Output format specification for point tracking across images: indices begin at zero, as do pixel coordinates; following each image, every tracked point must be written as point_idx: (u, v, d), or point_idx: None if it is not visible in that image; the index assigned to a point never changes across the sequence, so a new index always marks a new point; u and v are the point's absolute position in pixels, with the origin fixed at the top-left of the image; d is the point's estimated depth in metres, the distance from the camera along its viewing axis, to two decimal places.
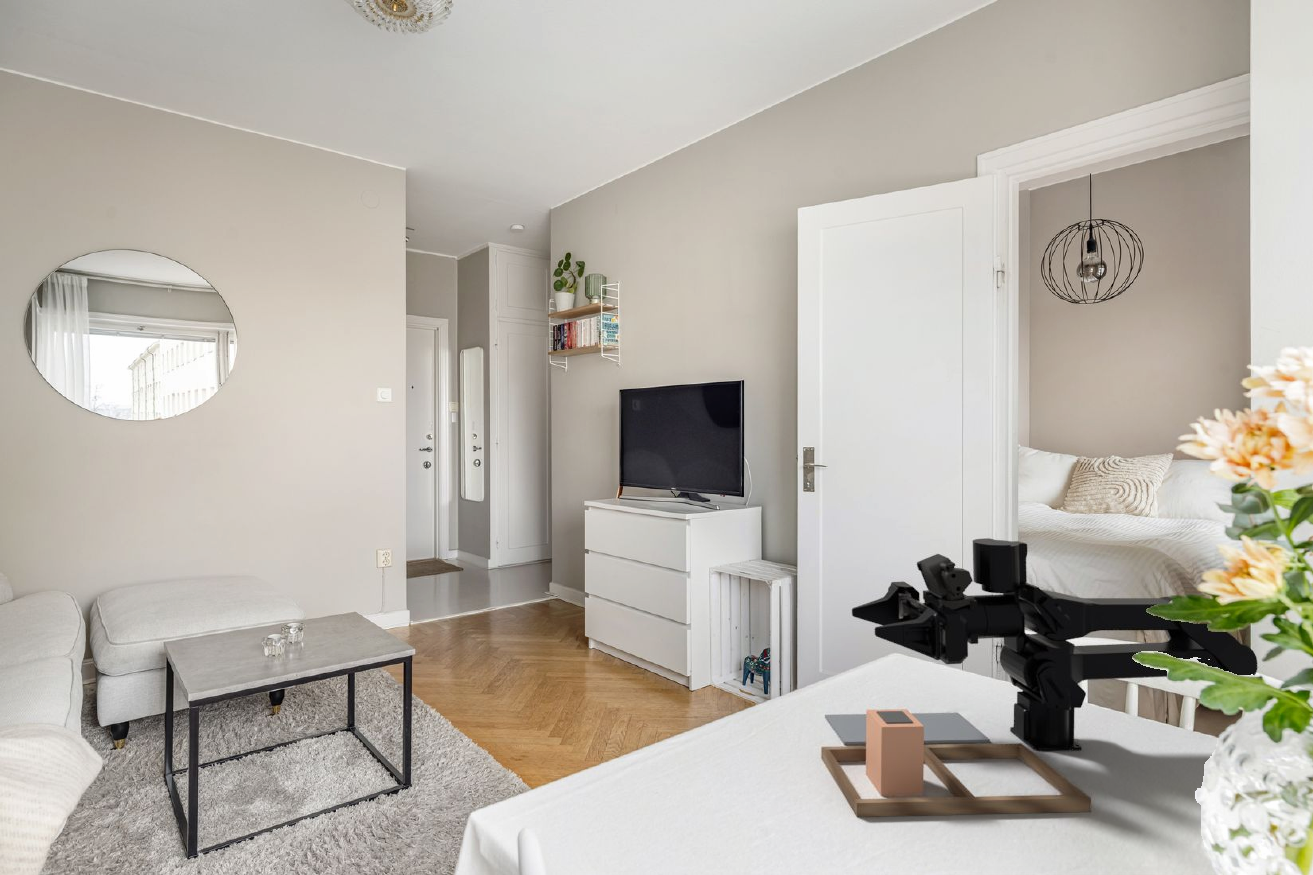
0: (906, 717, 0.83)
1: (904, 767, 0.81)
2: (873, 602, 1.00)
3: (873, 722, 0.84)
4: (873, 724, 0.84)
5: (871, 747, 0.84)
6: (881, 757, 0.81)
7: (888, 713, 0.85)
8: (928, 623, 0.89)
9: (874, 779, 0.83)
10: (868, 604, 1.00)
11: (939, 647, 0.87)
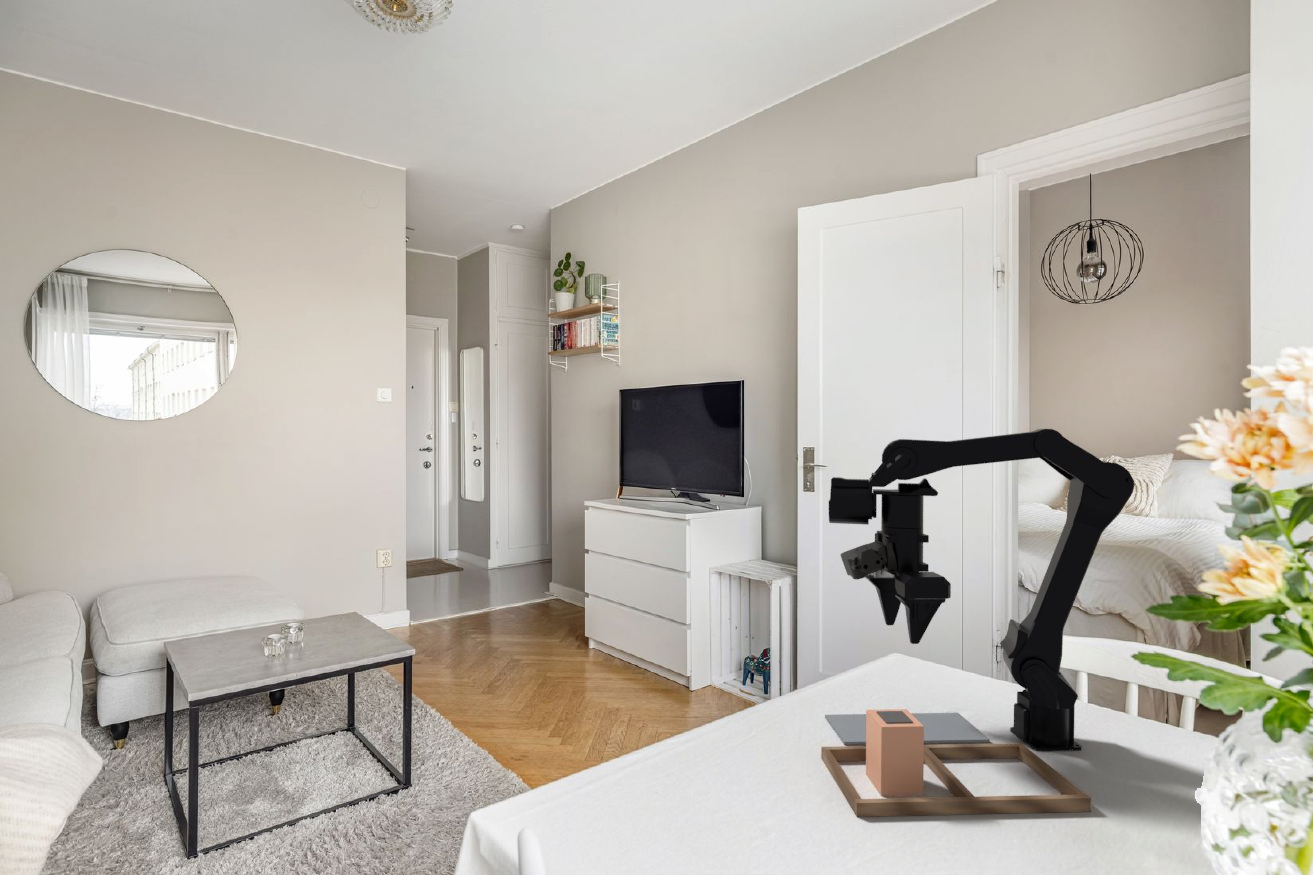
0: (906, 717, 0.83)
1: (904, 767, 0.81)
2: (881, 602, 1.07)
3: (873, 722, 0.84)
4: (873, 724, 0.84)
5: (871, 747, 0.84)
6: (881, 757, 0.81)
7: (888, 713, 0.85)
8: (910, 602, 0.95)
9: (874, 779, 0.83)
10: (883, 608, 1.06)
11: (934, 599, 0.93)
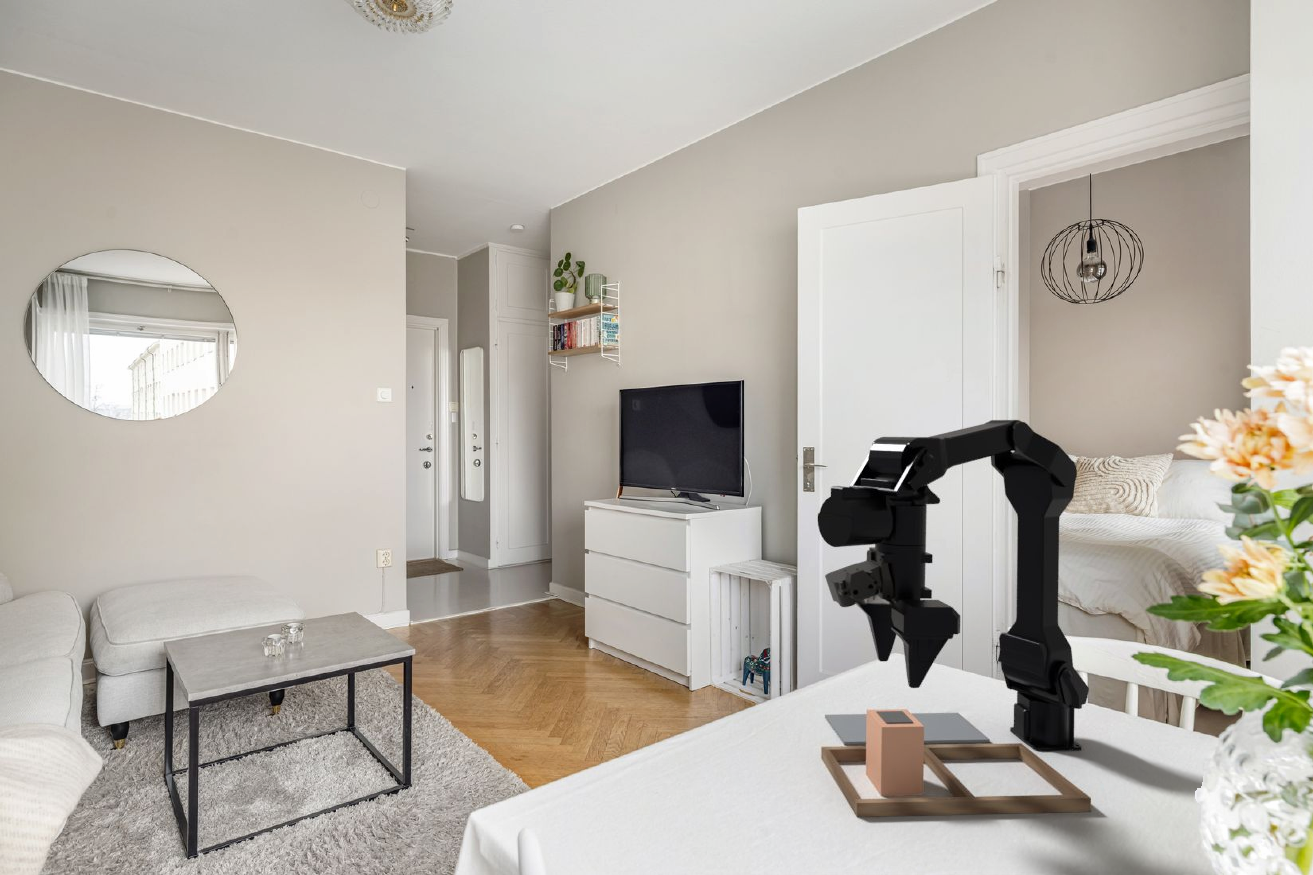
0: (906, 717, 0.83)
1: (904, 767, 0.81)
2: (873, 633, 0.89)
3: (873, 722, 0.84)
4: (873, 724, 0.84)
5: (871, 747, 0.84)
6: (881, 757, 0.81)
7: (888, 713, 0.85)
8: None
9: (874, 779, 0.83)
10: (875, 640, 0.88)
11: (939, 635, 0.76)
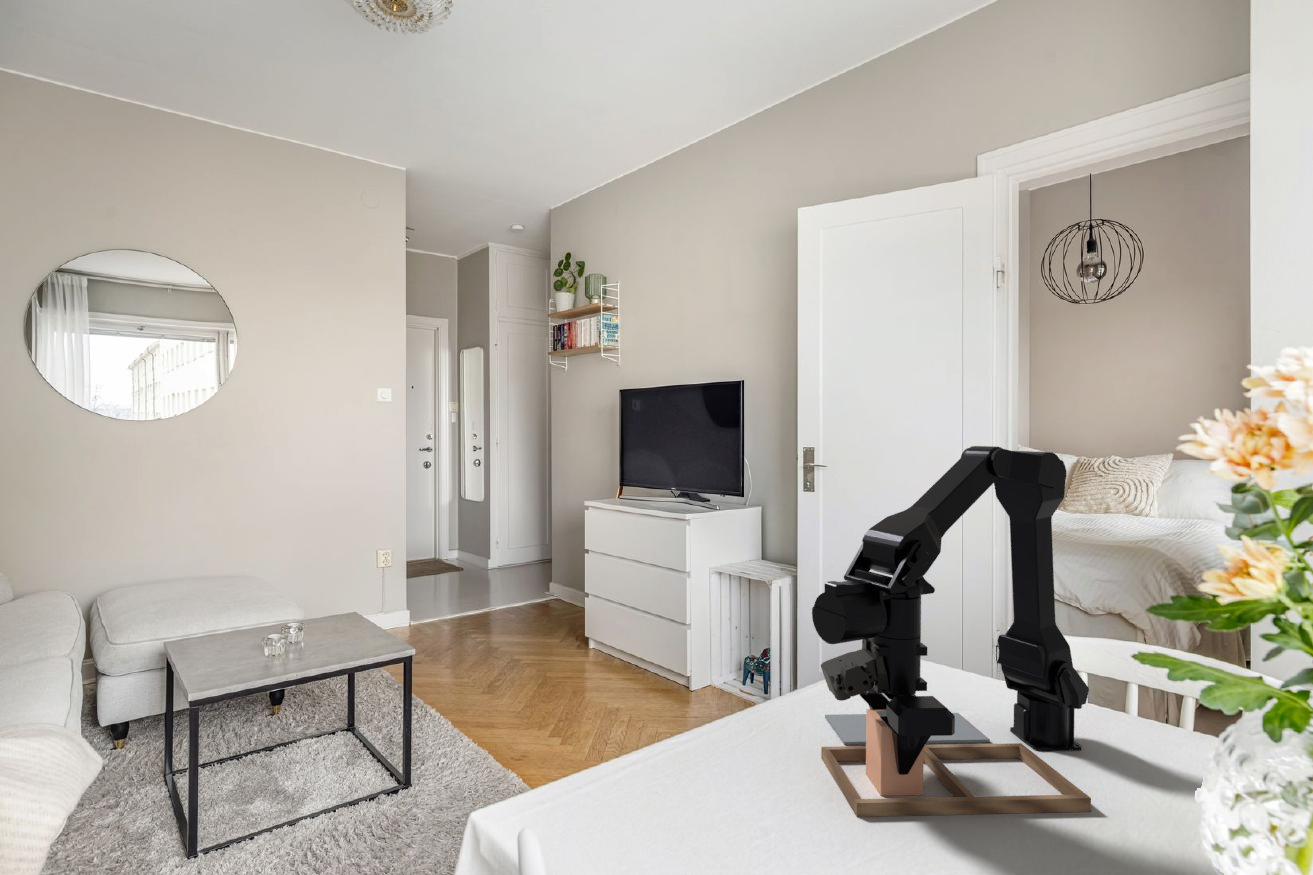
0: None
1: None
2: None
3: (873, 721, 0.84)
4: (873, 723, 0.84)
5: (871, 747, 0.84)
6: (881, 756, 0.81)
7: None
8: None
9: (874, 779, 0.83)
10: None
11: None
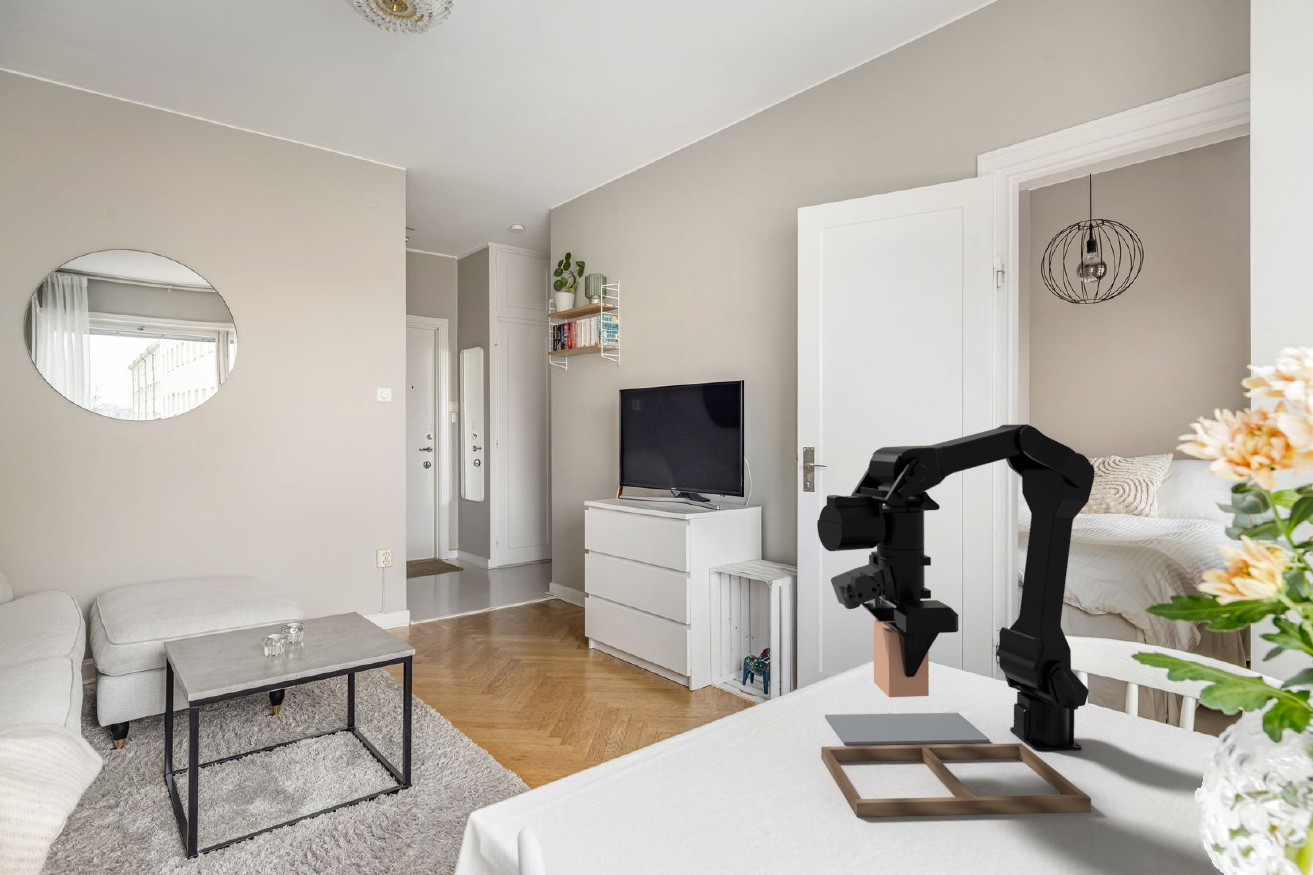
0: None
1: None
2: None
3: (881, 630, 0.89)
4: (880, 632, 0.89)
5: (879, 655, 0.90)
6: (888, 660, 0.86)
7: None
8: None
9: (882, 684, 0.89)
10: None
11: None
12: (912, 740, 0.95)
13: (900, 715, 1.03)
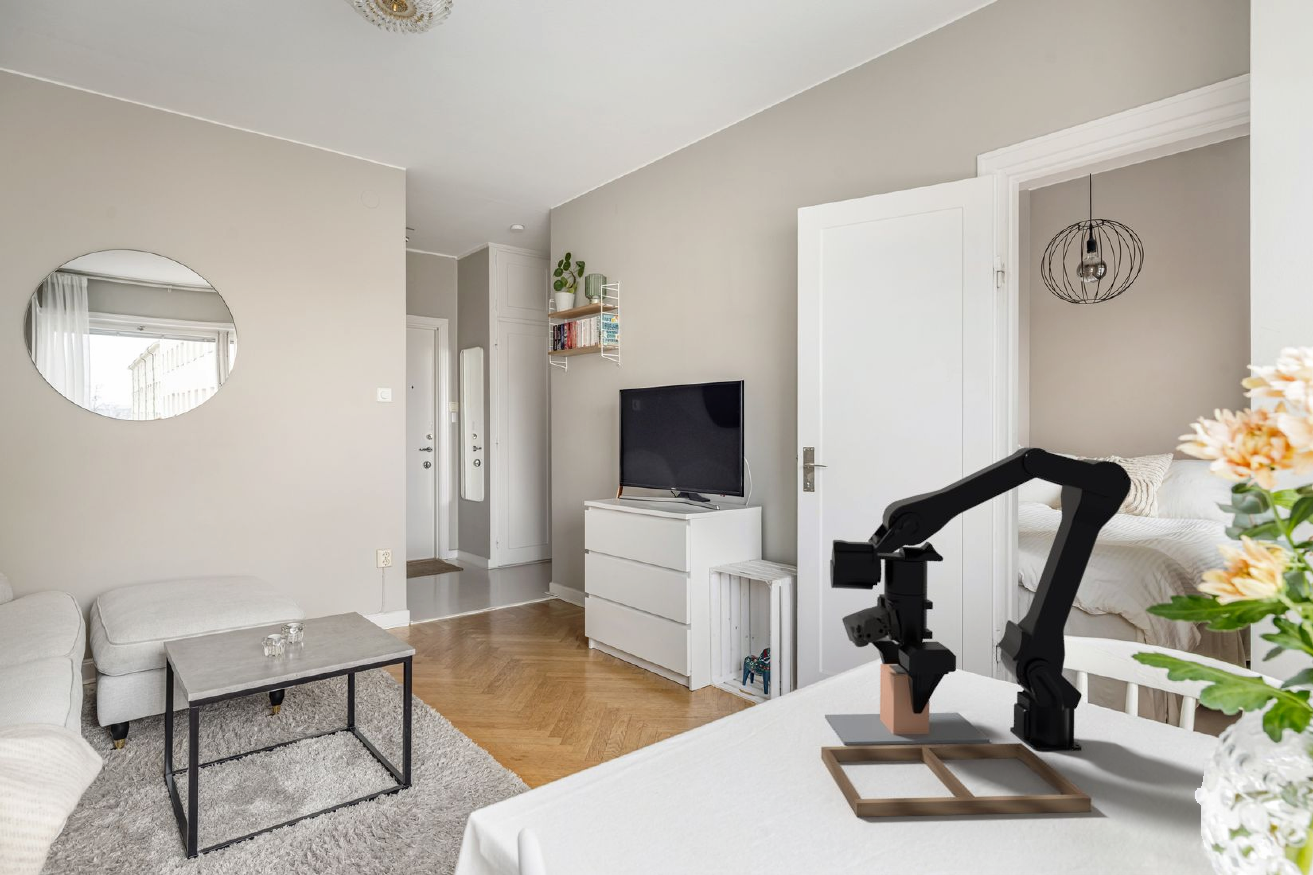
0: None
1: None
2: None
3: (887, 673, 0.99)
4: (886, 675, 0.99)
5: (885, 695, 1.00)
6: (893, 701, 0.97)
7: None
8: None
9: (887, 722, 0.99)
10: None
11: None
12: (912, 740, 0.95)
13: None
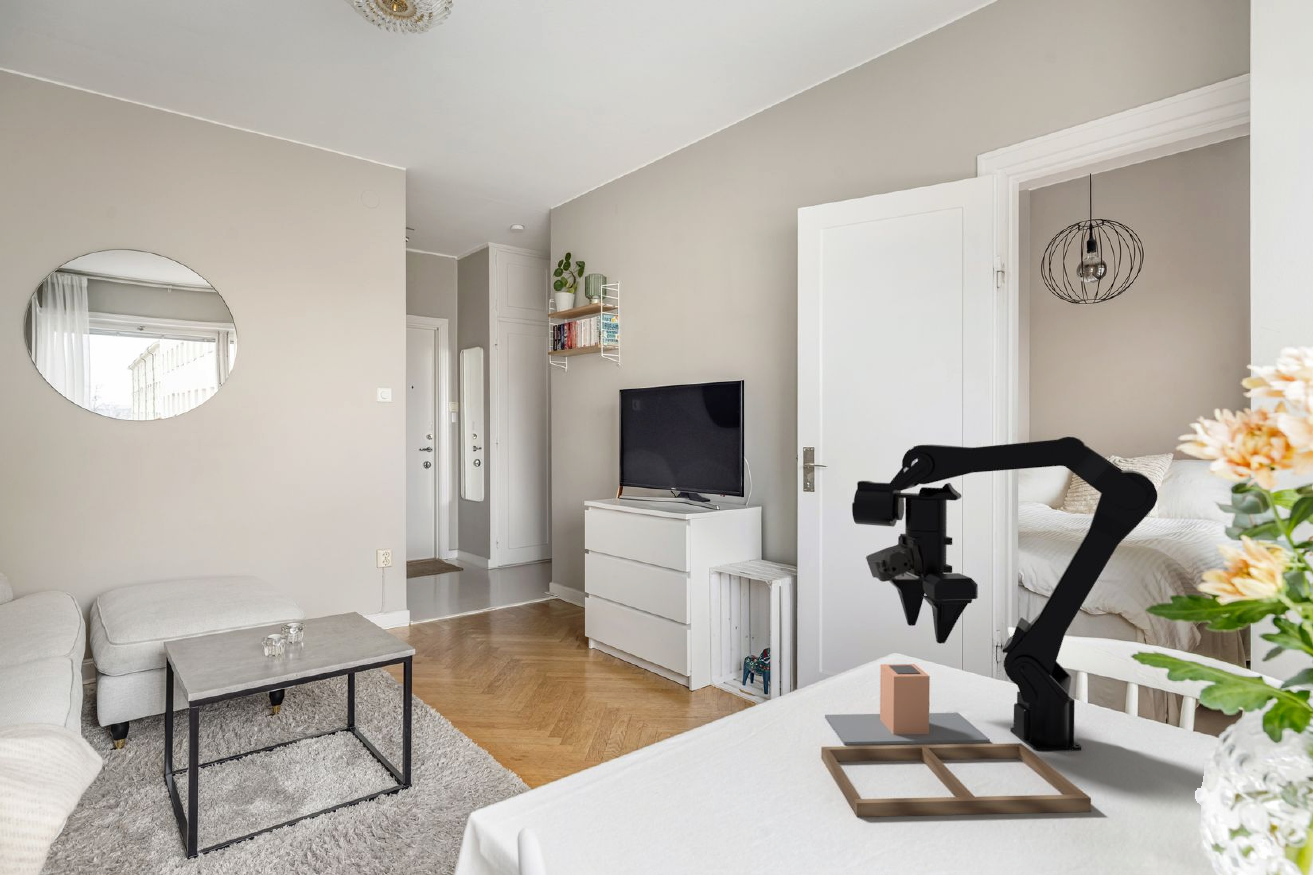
0: (914, 669, 0.99)
1: (913, 710, 0.97)
2: (903, 603, 1.09)
3: (887, 673, 0.99)
4: (886, 675, 0.99)
5: (885, 695, 1.00)
6: (893, 701, 0.97)
7: (899, 666, 1.00)
8: (938, 603, 0.98)
9: (887, 722, 0.99)
10: (904, 609, 1.09)
11: (961, 600, 0.97)
12: (912, 740, 0.95)
13: None
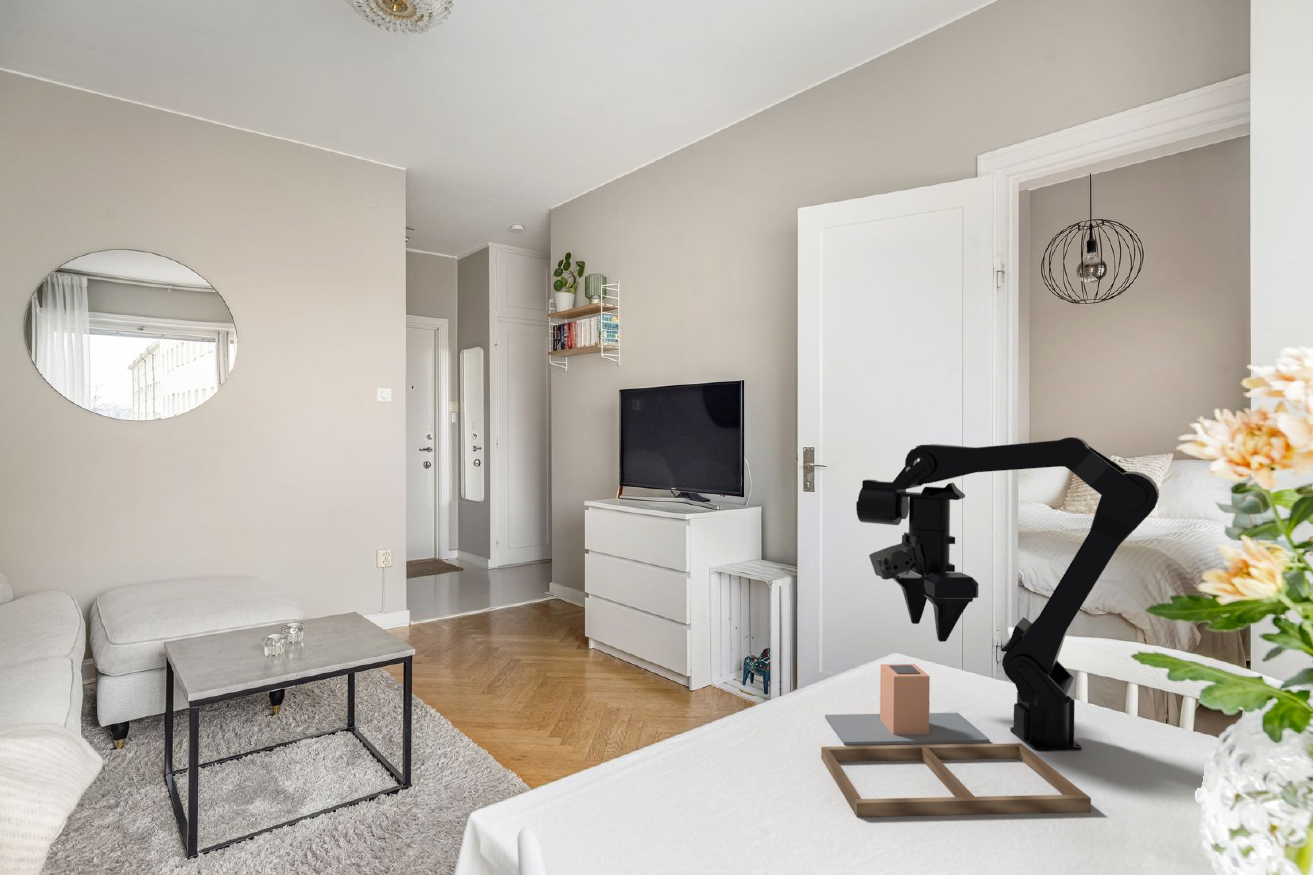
0: (914, 669, 0.99)
1: (913, 710, 0.97)
2: (907, 601, 1.10)
3: (887, 673, 0.99)
4: (886, 675, 0.99)
5: (885, 695, 1.00)
6: (893, 701, 0.97)
7: (899, 666, 1.00)
8: (939, 601, 0.99)
9: (887, 722, 0.99)
10: (908, 607, 1.10)
11: (962, 599, 0.97)
12: (912, 740, 0.95)
13: None
